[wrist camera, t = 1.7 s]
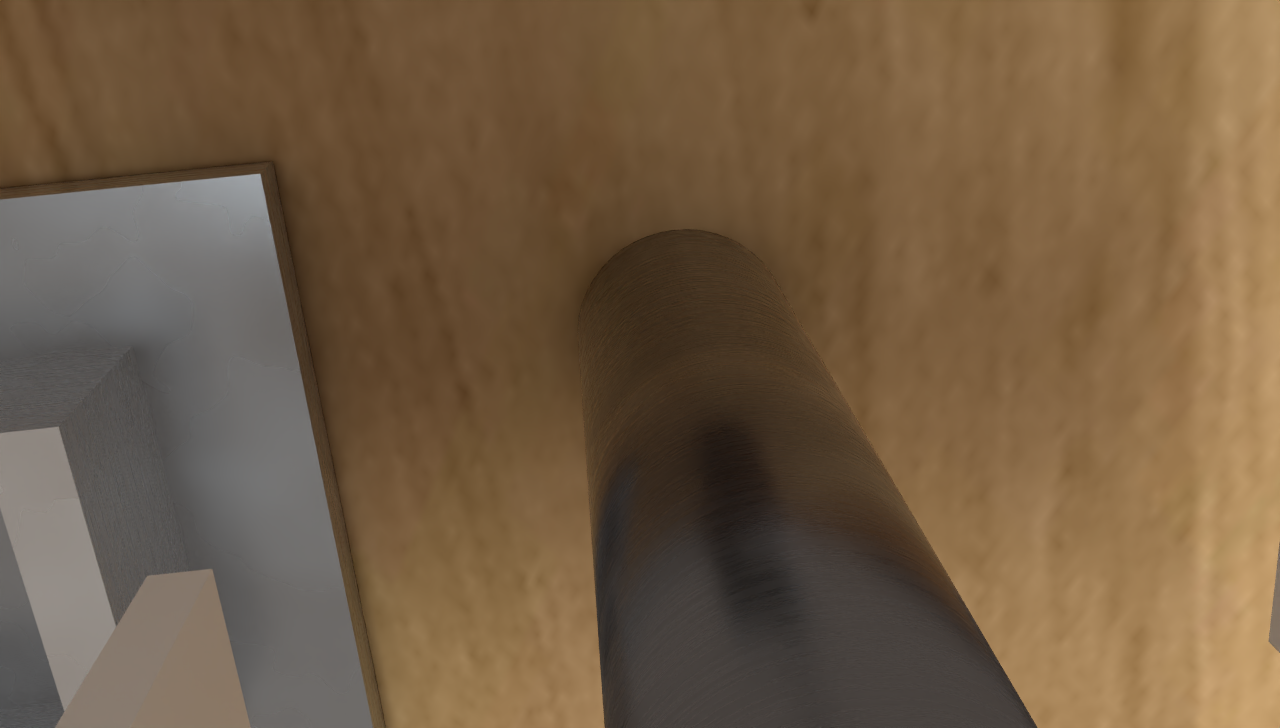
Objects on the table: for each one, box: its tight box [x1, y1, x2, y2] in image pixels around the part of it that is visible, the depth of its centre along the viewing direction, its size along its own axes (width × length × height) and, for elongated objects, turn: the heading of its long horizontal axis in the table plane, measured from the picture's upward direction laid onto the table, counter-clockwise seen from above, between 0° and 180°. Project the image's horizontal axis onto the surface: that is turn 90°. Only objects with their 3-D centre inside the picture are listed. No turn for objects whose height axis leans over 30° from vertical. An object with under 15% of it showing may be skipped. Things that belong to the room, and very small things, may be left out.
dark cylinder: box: [578, 230, 1037, 728], centre depth 16 cm, size 4×4×15 cm
